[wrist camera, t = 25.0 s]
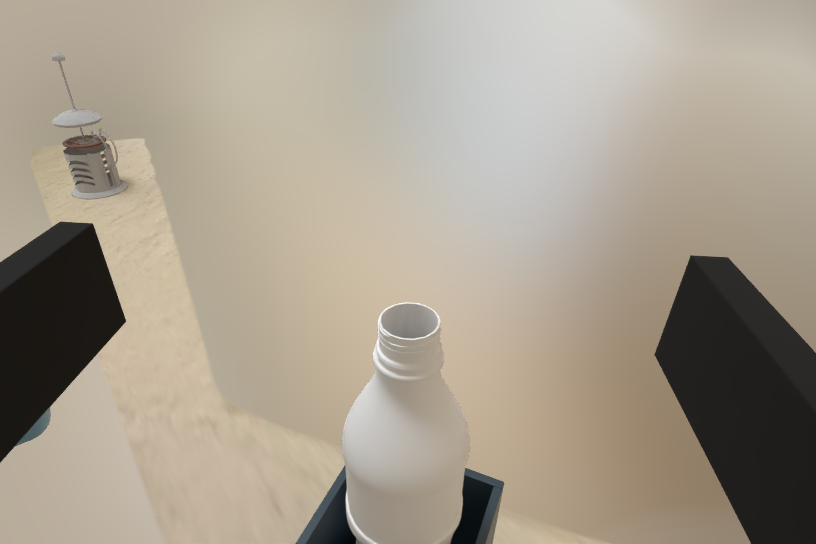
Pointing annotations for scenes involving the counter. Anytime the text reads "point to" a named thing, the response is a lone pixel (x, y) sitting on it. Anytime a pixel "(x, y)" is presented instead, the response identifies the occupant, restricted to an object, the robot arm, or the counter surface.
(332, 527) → the tub
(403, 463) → the water bottle
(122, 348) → the counter surface
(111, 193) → the french press
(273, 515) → the counter surface
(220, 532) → the counter surface
